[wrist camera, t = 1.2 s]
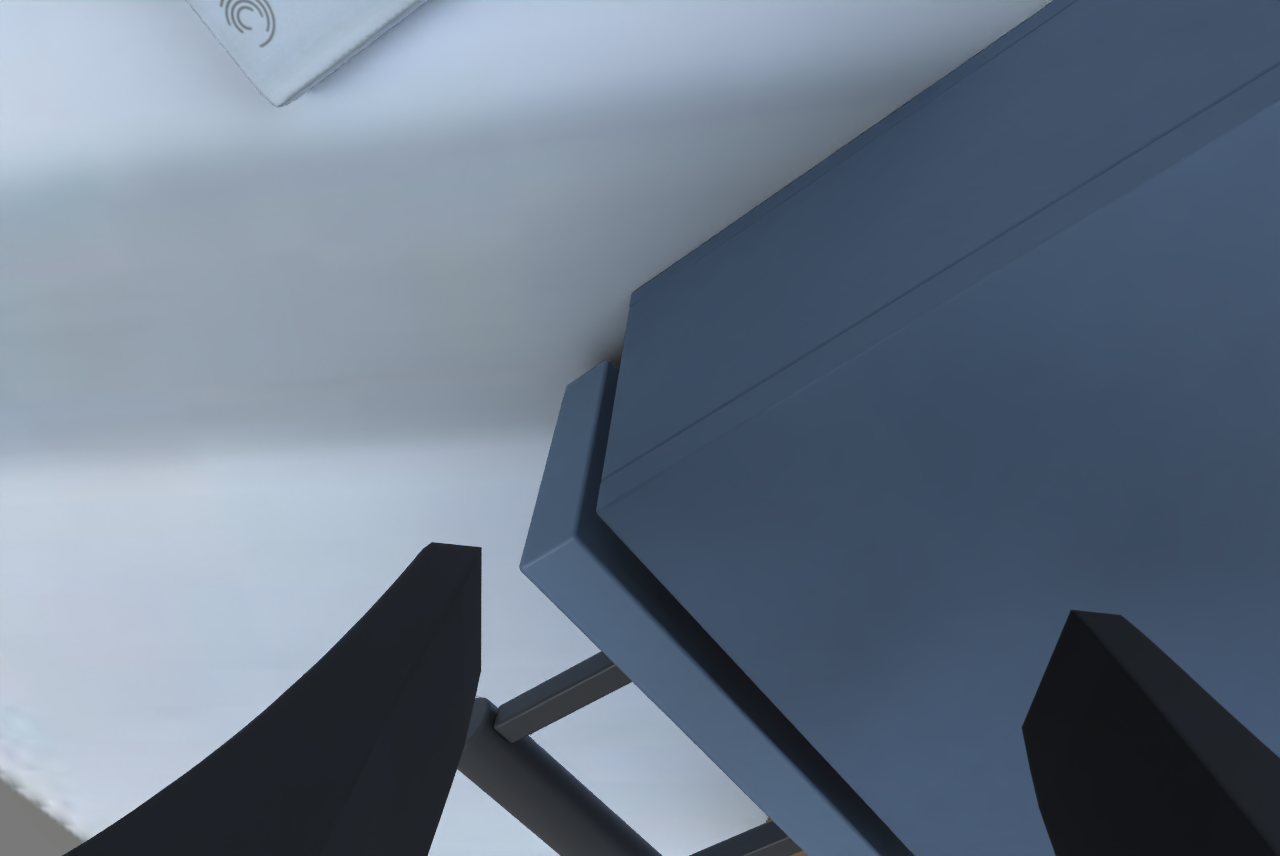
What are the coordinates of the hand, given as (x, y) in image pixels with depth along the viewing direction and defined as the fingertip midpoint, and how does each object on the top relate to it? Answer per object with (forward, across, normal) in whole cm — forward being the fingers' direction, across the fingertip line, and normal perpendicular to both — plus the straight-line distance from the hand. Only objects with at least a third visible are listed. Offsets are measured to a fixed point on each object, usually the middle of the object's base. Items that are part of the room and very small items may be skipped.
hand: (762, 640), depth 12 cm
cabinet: (+10, -8, +1) cm, 13 cm away
